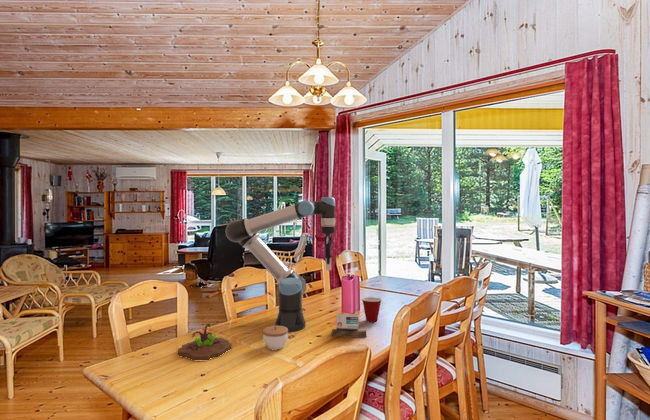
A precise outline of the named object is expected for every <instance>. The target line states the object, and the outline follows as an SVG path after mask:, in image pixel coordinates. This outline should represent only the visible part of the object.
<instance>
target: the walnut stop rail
mask: <svg viewBox="0 0 650 420" xmlns="http://www.w3.org/2000/svg"><path fill="white" fill-rule="evenodd" d="M331 336H332V337H350V338H351V337H353V338H354V337H356V338H357V337H359V338H367V330H366V329H358V330H345V329H336V328H332V330H331Z"/></svg>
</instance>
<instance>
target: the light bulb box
mask: <svg viewBox="0 0 650 420" xmlns="http://www.w3.org/2000/svg"><path fill="white" fill-rule="evenodd" d="M359 323H360V322H359V314H358V313H336V317H335V329H345V330H359Z"/></svg>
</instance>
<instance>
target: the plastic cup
mask: <svg viewBox="0 0 650 420" xmlns="http://www.w3.org/2000/svg"><path fill="white" fill-rule="evenodd" d="M382 300H383V298H381V297H376V296H366V297H365V296H364V297H361V301H362V305H363V311H364V315H365V321H366V322H367V323H377V322H378V319H379V315H380V310H381V309H380V308H381V303H382Z"/></svg>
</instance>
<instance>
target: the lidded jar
mask: <svg viewBox="0 0 650 420" xmlns="http://www.w3.org/2000/svg"><path fill="white" fill-rule="evenodd" d="M262 335H263V337H262V339H263V342H264V345H265V346H266V347H267V348H268V349H269V350H270V349H273V350H272V351H278V350H277V349H280V350H282V349H283V348H282V347H284V346H285V345H286V343H287V342H288V336H289V331H288V328H287V327H284V326H275V325H270V326H267V327H265V328H264V329H262ZM281 348H282V349H281Z"/></svg>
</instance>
